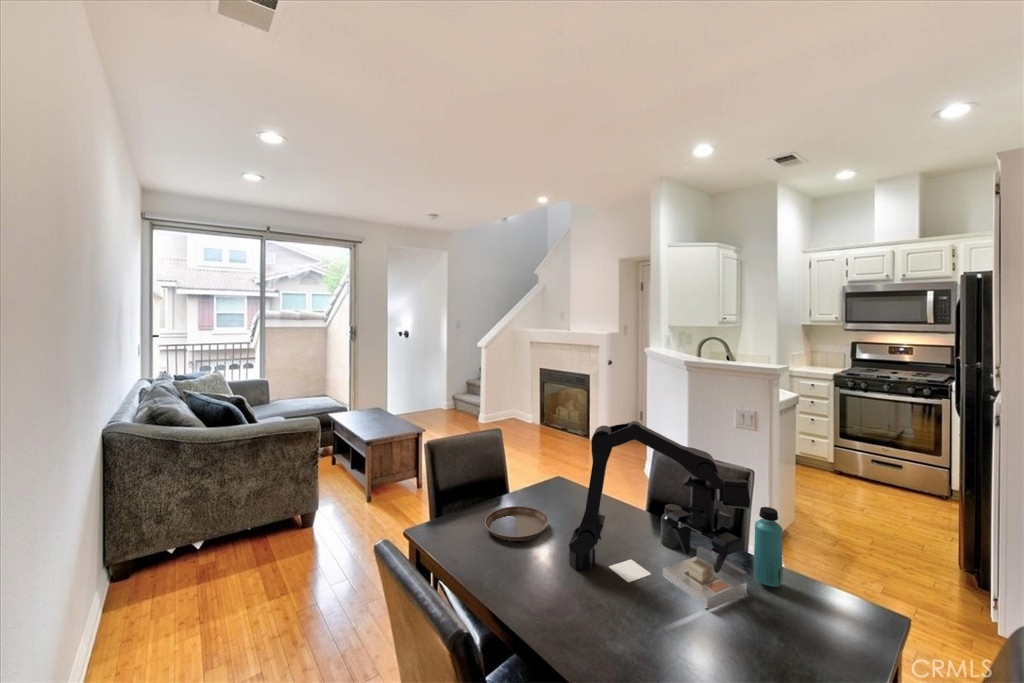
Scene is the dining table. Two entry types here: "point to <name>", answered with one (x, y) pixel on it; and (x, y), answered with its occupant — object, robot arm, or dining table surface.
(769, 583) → the beverage bottle
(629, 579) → the white square tile
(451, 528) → the dining table surface
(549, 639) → the dining table surface
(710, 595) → the plate
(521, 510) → the plant saucer
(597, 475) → the robot arm
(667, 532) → the supplement bottle
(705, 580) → the birch peg
